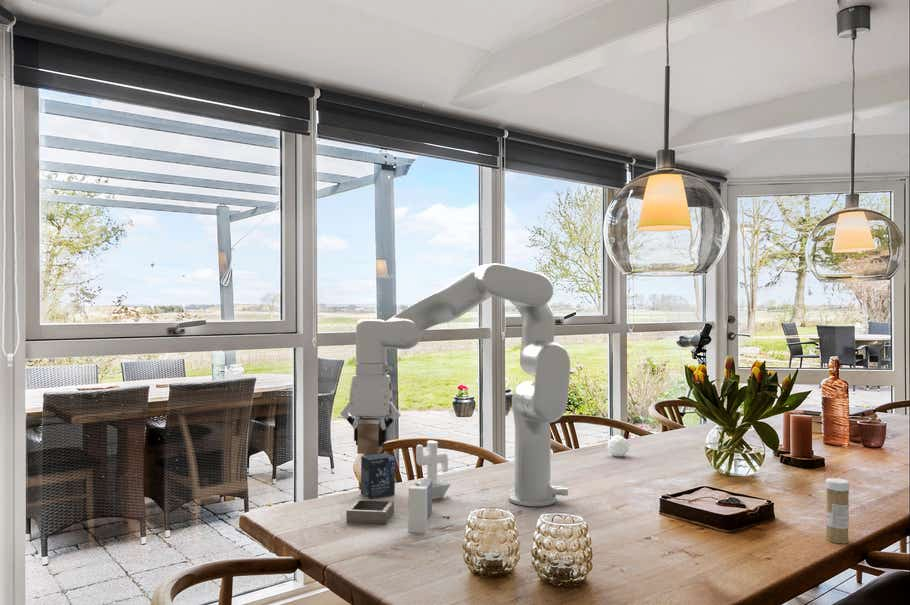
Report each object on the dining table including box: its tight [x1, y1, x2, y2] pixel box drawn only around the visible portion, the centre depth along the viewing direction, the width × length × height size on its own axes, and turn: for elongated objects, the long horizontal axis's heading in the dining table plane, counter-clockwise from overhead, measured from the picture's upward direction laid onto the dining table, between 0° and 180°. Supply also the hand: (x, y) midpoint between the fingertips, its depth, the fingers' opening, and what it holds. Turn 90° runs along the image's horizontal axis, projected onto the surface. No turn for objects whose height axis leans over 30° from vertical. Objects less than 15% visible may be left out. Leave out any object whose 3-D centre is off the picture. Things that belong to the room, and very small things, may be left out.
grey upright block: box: [407, 478, 433, 534], centre depth 162 cm, size 4×16×10 cm, turn 173°
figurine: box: [413, 439, 451, 500], centre depth 183 cm, size 7×9×15 cm
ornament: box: [606, 435, 630, 458], centre depth 233 cm, size 7×7×8 cm
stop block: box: [356, 417, 383, 455], centre depth 165 cm, size 5×5×8 cm
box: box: [360, 452, 396, 500], centre depth 185 cm, size 8×6×11 cm
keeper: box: [345, 498, 395, 526], centre depth 165 cm, size 10×10×3 cm
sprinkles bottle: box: [825, 477, 851, 544], centre depth 150 cm, size 5×5×14 cm
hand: (370, 443), depth 165 cm, fingers closed on stop block, 5 cm apart
